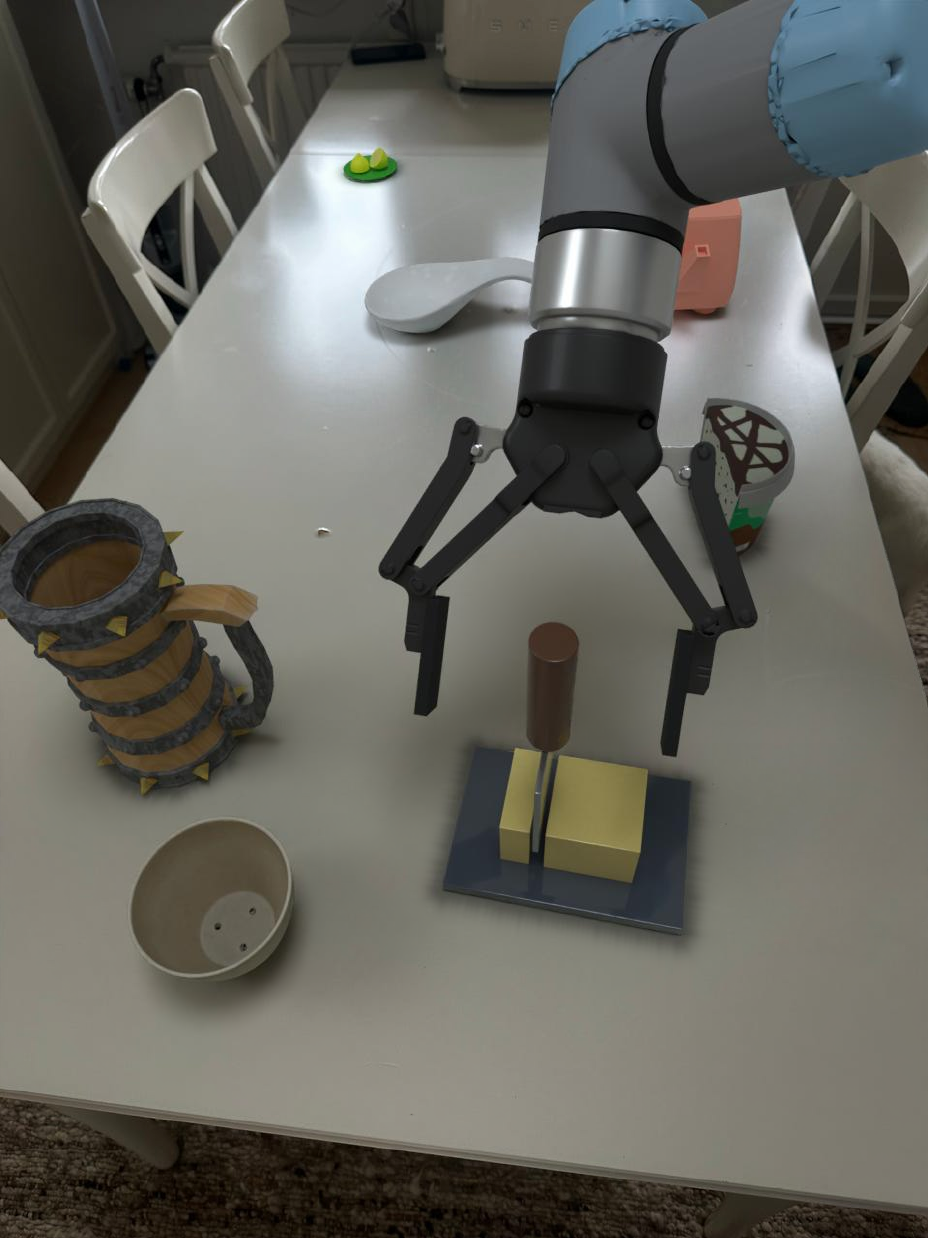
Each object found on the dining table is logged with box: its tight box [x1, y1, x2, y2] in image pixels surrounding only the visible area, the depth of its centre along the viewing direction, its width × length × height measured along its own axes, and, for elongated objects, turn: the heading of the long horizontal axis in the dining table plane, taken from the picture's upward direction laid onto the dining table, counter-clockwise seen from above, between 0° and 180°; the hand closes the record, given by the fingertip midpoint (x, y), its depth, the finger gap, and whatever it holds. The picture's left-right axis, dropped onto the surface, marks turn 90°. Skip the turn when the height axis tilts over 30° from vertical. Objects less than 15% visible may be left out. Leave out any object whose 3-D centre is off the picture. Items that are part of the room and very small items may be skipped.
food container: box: [699, 397, 796, 557], centre depth 76 cm, size 12×6×10 cm, turn 4°
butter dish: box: [442, 745, 692, 936], centre depth 59 cm, size 16×11×6 cm
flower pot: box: [126, 815, 295, 983], centre depth 55 cm, size 10×10×7 cm
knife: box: [525, 621, 580, 852], centre depth 51 cm, size 3×8×17 cm, turn 168°
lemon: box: [343, 147, 398, 181], centre depth 127 cm, size 8×8×3 cm
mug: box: [0, 497, 275, 796], centre depth 60 cm, size 13×17×20 cm
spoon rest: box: [364, 256, 534, 334], centre depth 100 cm, size 24×12×7 cm, turn 84°
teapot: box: [674, 198, 743, 315], centre depth 98 cm, size 22×13×14 cm, turn 0°
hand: (543, 730), depth 48 cm, fingers open, 13 cm apart
